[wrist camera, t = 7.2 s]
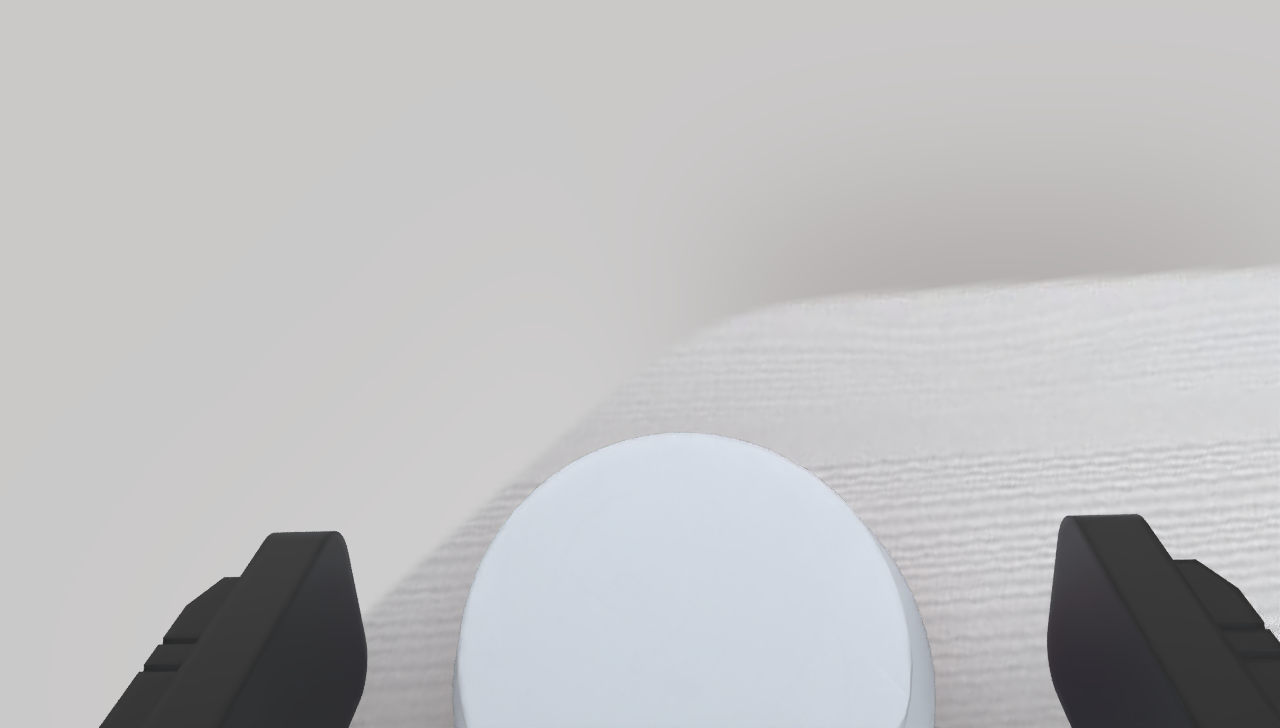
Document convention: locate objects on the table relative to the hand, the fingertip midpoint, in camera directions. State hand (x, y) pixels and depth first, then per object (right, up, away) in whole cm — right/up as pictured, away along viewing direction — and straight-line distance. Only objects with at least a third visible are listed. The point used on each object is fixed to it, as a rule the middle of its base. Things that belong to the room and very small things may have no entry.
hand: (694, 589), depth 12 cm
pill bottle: (0, -3, +6) cm, 7 cm away
